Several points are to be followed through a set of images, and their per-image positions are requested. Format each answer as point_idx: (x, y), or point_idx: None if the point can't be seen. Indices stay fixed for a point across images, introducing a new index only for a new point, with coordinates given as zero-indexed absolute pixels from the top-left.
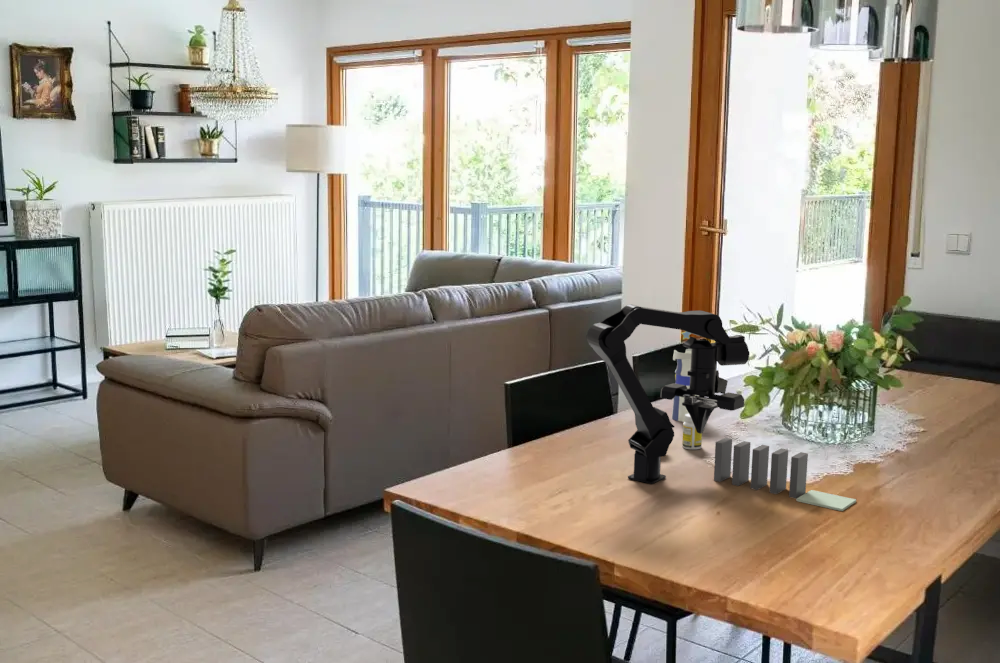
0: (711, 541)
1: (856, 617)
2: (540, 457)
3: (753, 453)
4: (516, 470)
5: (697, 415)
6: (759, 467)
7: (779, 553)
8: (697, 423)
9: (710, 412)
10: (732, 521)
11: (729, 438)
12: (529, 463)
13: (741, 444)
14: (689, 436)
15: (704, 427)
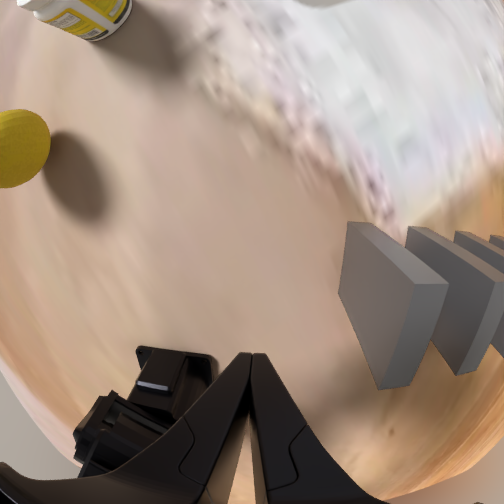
0: (391, 472)
1: (477, 459)
2: (2, 337)
3: (500, 351)
4: (43, 401)
5: (226, 491)
6: None
7: (454, 447)
8: (241, 442)
9: (341, 491)
10: (413, 436)
11: (435, 287)
12: (21, 370)
13: (483, 340)
14: (81, 24)
15: (279, 380)
